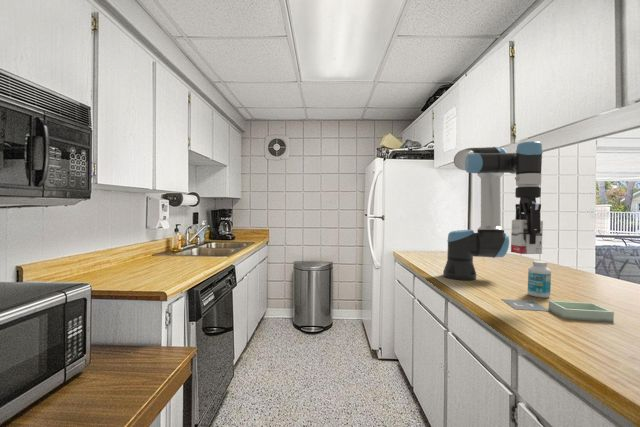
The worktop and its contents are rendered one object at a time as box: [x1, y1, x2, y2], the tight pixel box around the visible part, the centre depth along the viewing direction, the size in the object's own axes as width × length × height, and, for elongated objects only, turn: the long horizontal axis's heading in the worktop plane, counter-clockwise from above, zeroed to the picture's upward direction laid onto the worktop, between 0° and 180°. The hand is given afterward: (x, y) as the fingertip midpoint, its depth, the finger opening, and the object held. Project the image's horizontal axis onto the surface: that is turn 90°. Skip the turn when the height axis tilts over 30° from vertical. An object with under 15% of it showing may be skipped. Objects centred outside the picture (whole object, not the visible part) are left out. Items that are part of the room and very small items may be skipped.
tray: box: [548, 300, 615, 323], centre depth 104 cm, size 9×13×3 cm
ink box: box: [510, 219, 544, 255], centre depth 114 cm, size 9×5×12 cm, turn 98°
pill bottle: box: [527, 260, 552, 299], centre depth 128 cm, size 8×7×14 cm
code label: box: [501, 298, 551, 312], centre depth 115 cm, size 12×11×1 cm
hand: (526, 252), depth 114 cm, fingers closed on ink box, 6 cm apart
